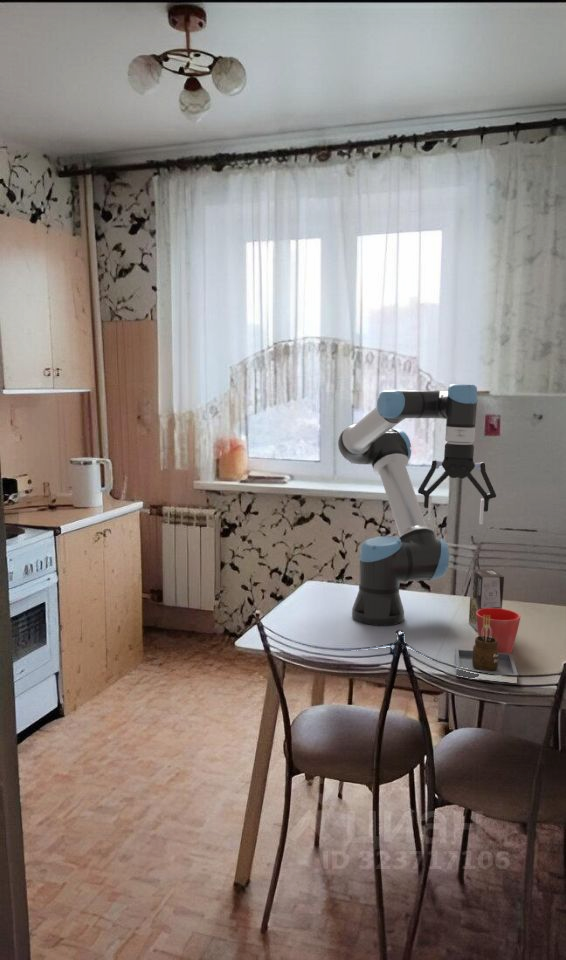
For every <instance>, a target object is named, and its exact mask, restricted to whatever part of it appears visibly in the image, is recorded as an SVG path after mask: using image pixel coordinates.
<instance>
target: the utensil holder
mask: <svg viewBox="0 0 566 960" xmlns="http://www.w3.org/2000/svg"><path fill="white" fill-rule="evenodd" d="M484 623H485V615H483V628H485V629H486V630H485V636H479V635H478V636H476V637H475V640H474V645H473V648H472V650H473V657H472V664H473V667H474V668H476V669H477V670H482V671H495V670H496V669H497V667H498V655H499V651H498V648H497V645H498V642H497V639H495V638H493V637H491V634H490V635H489V636H487V629H488V628H491V627H490V615H489V621H488V624H487V615H486V624H484ZM483 628H482V629H483ZM490 631H491V630H490ZM483 634H484V632H483ZM481 635H482V634H481Z"/></svg>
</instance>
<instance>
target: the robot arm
mask: <svg viewBox="0 0 566 960" xmlns="http://www.w3.org/2000/svg"><path fill="white" fill-rule="evenodd" d="M376 402H377V403H376V406H375V407H374V408H373V409H372V410H371V411H370V412H369V413H367V414H366V415H365V416H364V417H363V418H362V419H360V420H359V421H358V422H356V423H355V424H352V425H349V426H347V427H346V428H345V429H344V430H343V431H342V432H341V433H340V434H339V438H338V442H337V444H338V445H337V446H338V450H339V452H340V454H341V455H342V457H344V459H345V460H347V461H348V462H350V463H353V464H357V465H371V467H372V469H373V471H374V473H375V474H376V475H379V476H380V479H381V482H382V485H383V487H384V491H385V495H386V498H387V501H388V504H389V507H390V510H391V514H392V516H393V519H394V523H395V525H396V529H397V532H398V535H399V536H397V537H396V536H391V535H390V536H388V535H387V536H385V535H383V536H375V537H371V538H368V539H366V540H365V541H363V542H362V544H361V545H360V552H359V558H358V559H359V574H358V575H359V576H358V577H359V580H358V581H359V582H358V584H359V585H358V592H357V595H356V597H355V601H354V603H353V606H352V610H351V613H352V614H351V617H352V619H353V620H355V621H356V622H358V623H363V624H365V625H372V626H384V627H385V626H394V625H398V624H401V623H402V622H403V621H404V620H405V609H404V605H403V602H402V598H401V596H400V595H401V594H400V583H402V582H416V581H431V580H439V579H440V578H443V577H444V576H445V574H446V573H447V571H448V570H449V569H448V568H449V566H450V565H449V564H450V549H449V547H448V544H447V542H446V540H445V541H444V540H443V539H440V538H439V539H438V538H436V535H435V534H436V533H435V532H434V530H433V529H432V528H429V527H427V524H426V522H425V518H424V515H423V513H422V509H421V506H420V503H419V501H418V498H417V495H416V492H415V490H414V487H413V484H412V481H411V478H410V475H409V472H408V470H407V466H408V465H409V461H410V459H411V456H412V449H411V447H412V444H411V440H410V438H409V436H408V434H407V433H406V432H405V431H403V430H401V429H400V428H399V429H398V428H394V427H396V426H397V425H398V424H399V423H401V422H402V421H403V420H405V419H441V420H442V419H443V420H445V421H446V422H445V436H444V437H445V438H444V439H445V442H446V443H445V444H444V454H443V456H444V457H443V460H442V461H441V460H436V459H432V462H431V467H430V469H429V471H428V472H427V474H426V476H425V477H424V479H423V481H422V483H421V484H420V486H419V488H418V489H417V493H418V494H419V495H422V496H423V497H424V498H423V499H424V500H423V507H424V509H428V510H427V522H431V516H432V515H431V514H432V499H433V496H432V495H431V494H432V493H433V492H434V491H435V490H436V489H437V488H438V487H439V486H440V485H441V484H442V483H443V482H444V481H445V480H446V479H448V477H449V478H451V479H457V478H458V479H465V478H467V479H468V480H469V481H470V482H471V484H472V485H473V486H474V488H475V489H476V490H477V491H478V493H479V494H480V495H481V496H482V498H480V504H479V505H480V507H479V520H478V521H479V523H478V524H479V525H483V524H484V513H485V512H487V513H488V511H489V504H490V502H489V501H490V500H491V499H495V498H496V497H497V494H496V492H495V489H494V486H493V485H492V483H491V480H490V477H489V476H488V474H487V471H486V470H487V469H486V464H485V461H481V462H474V452H475V450H474V449H475V445H474V444H473V443H474V442H475V437H476V424H477V423H476V422H477V421H476V419H477V409H478V408H477V407H478V388H477V386H476V385H475V384H462V383H461V384H458V383H455V384H454V383H451V384H450V385H449V386H448V388H447V391H446V390H411V389H410V390H409V389H408V390H406V389H403V390H401V389H389V390H387V389H386V390H382V391H381V392H380V393H379V397H378V398H377V400H376ZM440 466H442V469H444V472H442V474H440V475H439V477H438V478H437V479H436V480H435V481H434V482H433V483H432V484H431V485H430V486H429V487H428V488H427V489H426V487H427V486H428V483H429V482H430V480H431V478H432V477H433V475H434V473H435V471H436V470H437V469H439V468H440ZM475 468H476V469H477V471H479V472H480V474H481V476H482V478H483V480H484V482H485V485H486V487H487V489H488V492H489V493H487V492H486V491H485V490H484V488H483V487H482V485H481V484H480V483H479V482H478V481H477V479H476V477H474V475H473V474H472V471H473V470H474V469H475Z"/></svg>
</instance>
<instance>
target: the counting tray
mask: <svg viewBox="0 0 566 960" xmlns="http://www.w3.org/2000/svg"><path fill="white" fill-rule="evenodd" d="M472 657H473V649H465V648H456V647H455V648H454V663H455V665H456V666H458V667H463V668H468V669H469V670H473V671H479V672H484V673H488V674H496V675H518V676H519V673H518V670H517V667H516V664H515V660H514V658H513V654H512V653H499V655H498V667H497V669H496V670H495V671H482V670H477V669H476V668H474V667H473V664H472ZM456 675H458V676H463V677H468V678H475V677H478V676H479V674H474V673H470V672H466V671H463V670H459V669H456V668H455V676H456Z"/></svg>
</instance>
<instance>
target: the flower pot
mask: <svg viewBox="0 0 566 960" xmlns="http://www.w3.org/2000/svg"><path fill="white" fill-rule="evenodd" d="M483 615H485V623H484V624H486V615H487V624H488V621H489V615H490V627H491V628H488V629H487V636H489V635H490V634H491V637H493V638H495V639H497V642H498V645H497V648H498V651H499V653H510V654H512V652H513V648H514V646H515V642H516V638H517V634H518V630H519V626H520V621H521V615H520V614H519V613H518V612H516V611H513V610H510V609H505V608H502V609H500V608H484V609H480V610H478V611H477V612H476V619H477V627H478V631H477V632H478V636H485V630H486V629H485V628H483ZM482 628H483V629H482ZM490 630H491V631H490ZM483 632H484V634H483ZM481 634H482V635H481Z"/></svg>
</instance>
